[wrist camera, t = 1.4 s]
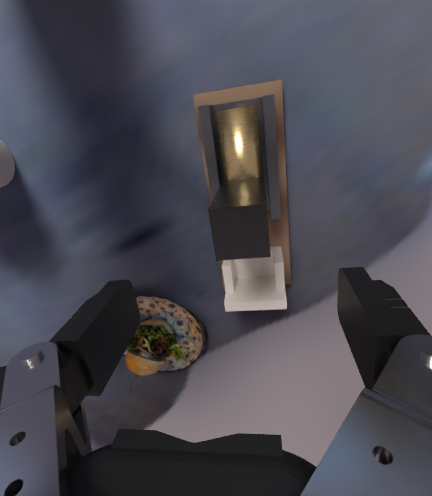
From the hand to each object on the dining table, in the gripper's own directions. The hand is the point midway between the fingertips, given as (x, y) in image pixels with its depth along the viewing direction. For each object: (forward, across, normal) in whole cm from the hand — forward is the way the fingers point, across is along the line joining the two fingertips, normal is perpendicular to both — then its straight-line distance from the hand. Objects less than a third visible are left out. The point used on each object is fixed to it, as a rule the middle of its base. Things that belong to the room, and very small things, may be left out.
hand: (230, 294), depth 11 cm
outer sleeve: (+17, 0, -3) cm, 17 cm away
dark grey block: (+16, 0, -2) cm, 16 cm away
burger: (+19, +12, +16) cm, 28 cm away
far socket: (+17, 0, +8) cm, 18 cm away
